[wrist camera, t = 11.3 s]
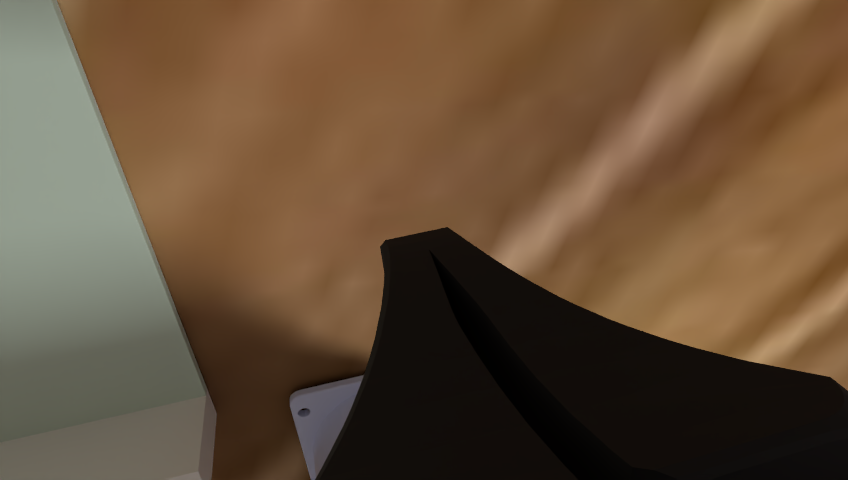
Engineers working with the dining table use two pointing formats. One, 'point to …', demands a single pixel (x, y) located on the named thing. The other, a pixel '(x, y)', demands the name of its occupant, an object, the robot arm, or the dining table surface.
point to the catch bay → (82, 287)
